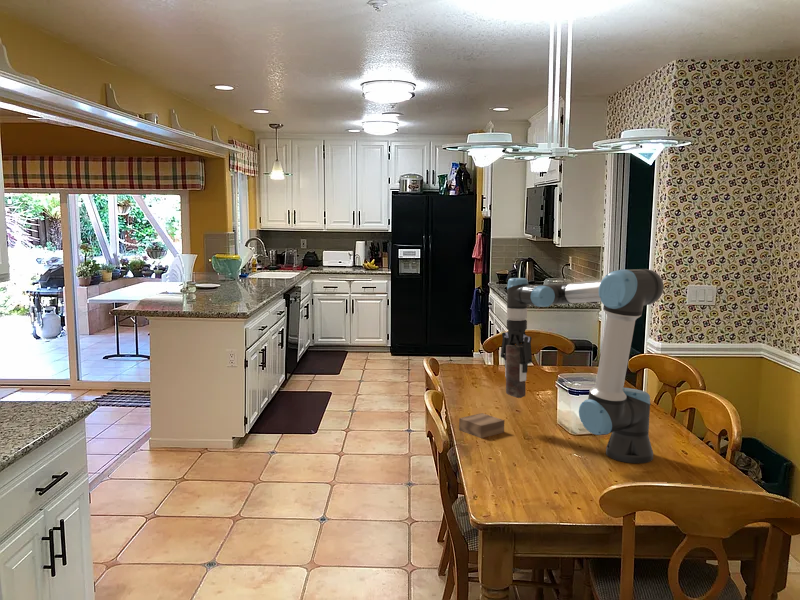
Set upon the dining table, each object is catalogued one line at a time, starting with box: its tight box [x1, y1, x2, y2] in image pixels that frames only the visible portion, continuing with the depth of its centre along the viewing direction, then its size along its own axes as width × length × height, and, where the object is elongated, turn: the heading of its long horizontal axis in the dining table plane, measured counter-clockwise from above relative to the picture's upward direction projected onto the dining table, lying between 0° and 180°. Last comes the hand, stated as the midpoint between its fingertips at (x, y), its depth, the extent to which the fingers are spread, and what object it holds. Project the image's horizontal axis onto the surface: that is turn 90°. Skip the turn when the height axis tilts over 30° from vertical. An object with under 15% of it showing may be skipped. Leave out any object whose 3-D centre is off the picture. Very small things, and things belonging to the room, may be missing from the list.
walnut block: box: [458, 412, 505, 439], centre depth 247 cm, size 12×12×5 cm
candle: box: [505, 344, 526, 399], centre depth 247 cm, size 8×7×20 cm
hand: (515, 378), depth 247 cm, fingers closed on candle, 7 cm apart
